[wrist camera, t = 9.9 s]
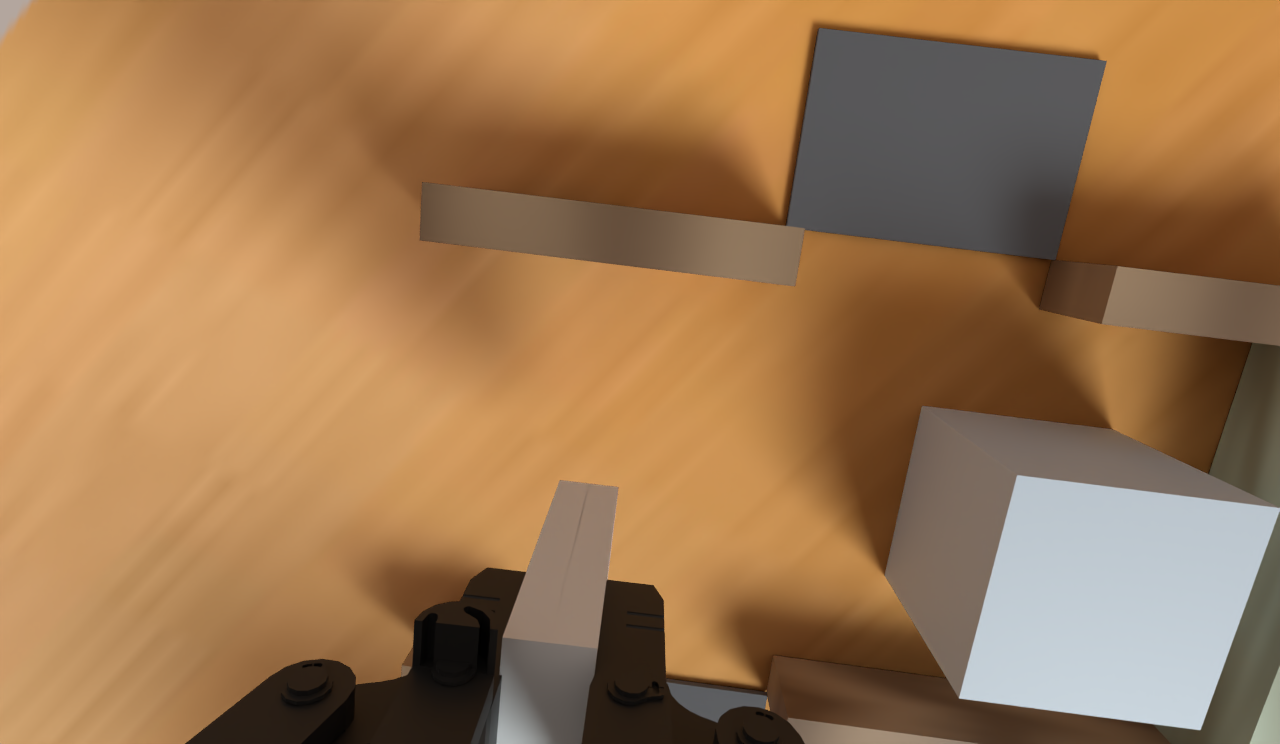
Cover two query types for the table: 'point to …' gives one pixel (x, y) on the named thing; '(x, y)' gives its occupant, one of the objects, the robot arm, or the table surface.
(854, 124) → the mat
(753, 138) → the table surface
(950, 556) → the block
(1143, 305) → the lane
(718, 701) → the mat
